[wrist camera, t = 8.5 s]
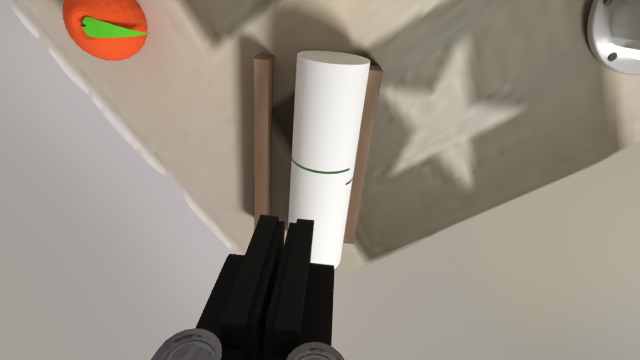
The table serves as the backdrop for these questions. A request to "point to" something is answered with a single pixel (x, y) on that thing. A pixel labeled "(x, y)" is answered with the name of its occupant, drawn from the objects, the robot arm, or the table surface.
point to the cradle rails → (264, 141)
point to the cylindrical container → (326, 145)
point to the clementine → (106, 27)
